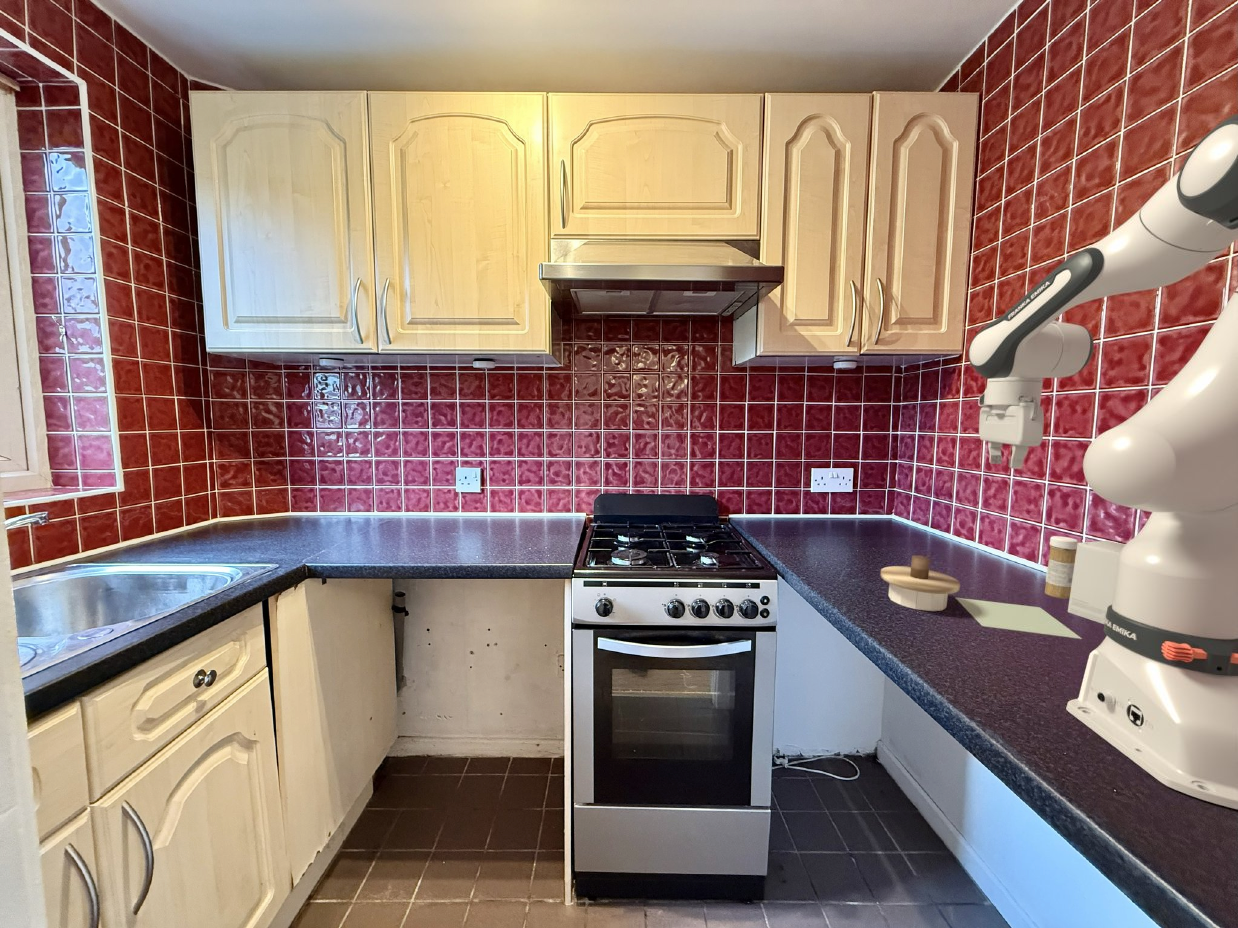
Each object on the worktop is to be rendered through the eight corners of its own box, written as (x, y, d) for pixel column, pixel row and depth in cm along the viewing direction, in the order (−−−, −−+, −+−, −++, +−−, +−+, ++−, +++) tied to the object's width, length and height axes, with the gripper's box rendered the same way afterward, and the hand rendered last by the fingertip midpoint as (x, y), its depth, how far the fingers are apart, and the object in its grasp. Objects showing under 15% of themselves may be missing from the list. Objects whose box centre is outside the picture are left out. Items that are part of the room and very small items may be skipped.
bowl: (952, 617, 99) (954, 592, 98) (894, 610, 102) (896, 586, 101) (936, 599, 108) (938, 576, 108) (884, 593, 111) (886, 571, 111)
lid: (970, 597, 96) (973, 572, 95) (888, 588, 100) (890, 563, 99) (946, 575, 109) (948, 552, 108) (874, 567, 113) (876, 545, 112)
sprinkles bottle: (1054, 593, 114) (1061, 535, 112) (1076, 601, 109) (1084, 540, 108) (1037, 595, 113) (1045, 535, 111) (1059, 602, 108) (1067, 541, 107)
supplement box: (1121, 634, 93) (1133, 554, 92) (1065, 615, 102) (1075, 542, 100) (1152, 628, 96) (1163, 551, 94) (1095, 610, 105) (1105, 539, 103)
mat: (1081, 642, 89) (1082, 638, 89) (981, 629, 93) (982, 625, 93) (1039, 611, 103) (1039, 607, 103) (954, 601, 108) (955, 597, 108)
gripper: (1059, 395, 91) (1049, 472, 92) (1009, 398, 110) (1002, 462, 112) (1017, 395, 93) (1008, 470, 94) (975, 398, 112) (969, 460, 114)
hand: (1004, 466), depth 103 cm, fingers open, 8 cm apart
